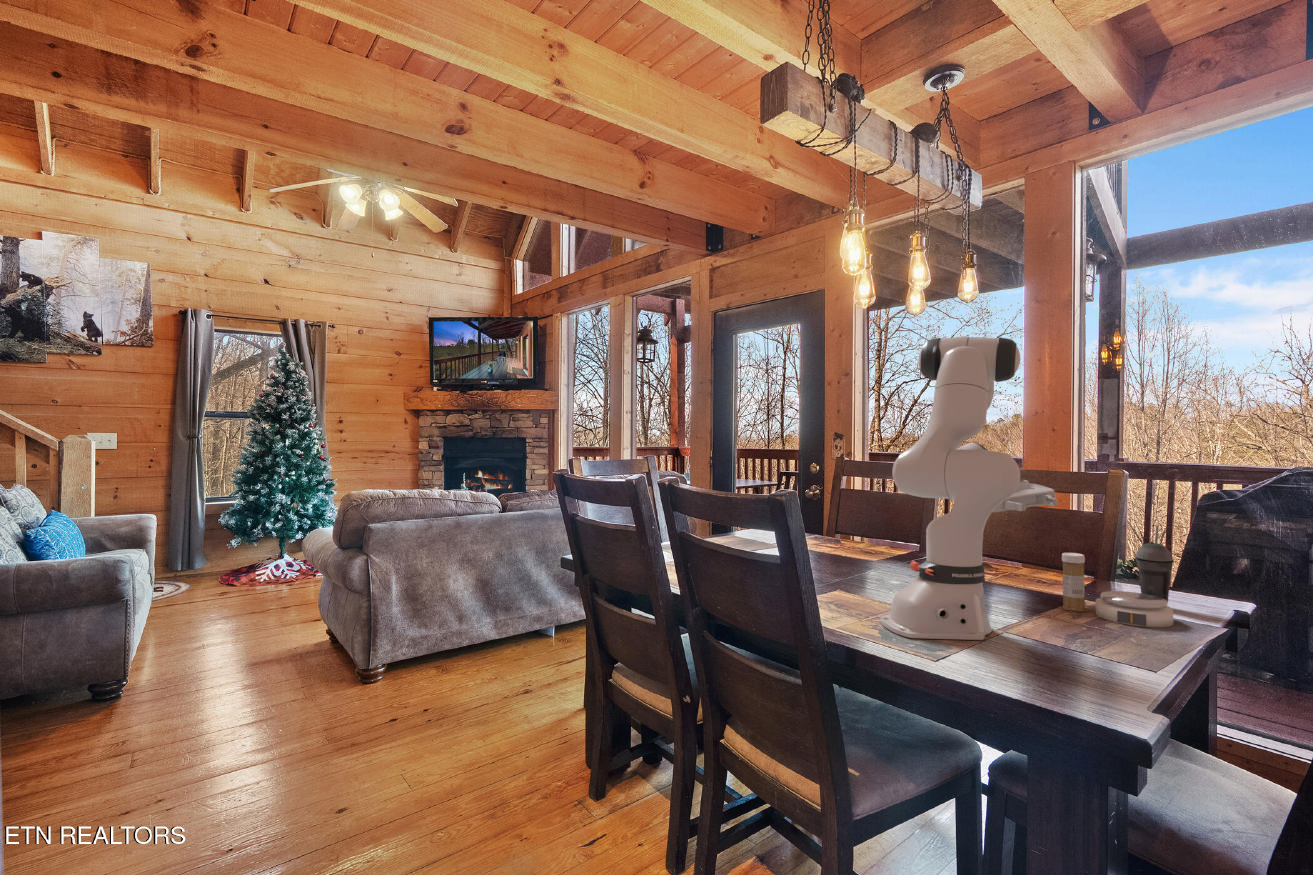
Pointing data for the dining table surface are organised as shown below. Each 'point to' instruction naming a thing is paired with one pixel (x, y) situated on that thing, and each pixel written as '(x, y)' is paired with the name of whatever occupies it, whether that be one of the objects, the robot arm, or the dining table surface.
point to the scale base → (1134, 615)
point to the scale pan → (1134, 600)
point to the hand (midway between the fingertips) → (1039, 505)
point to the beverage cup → (1154, 568)
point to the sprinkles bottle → (1073, 582)
